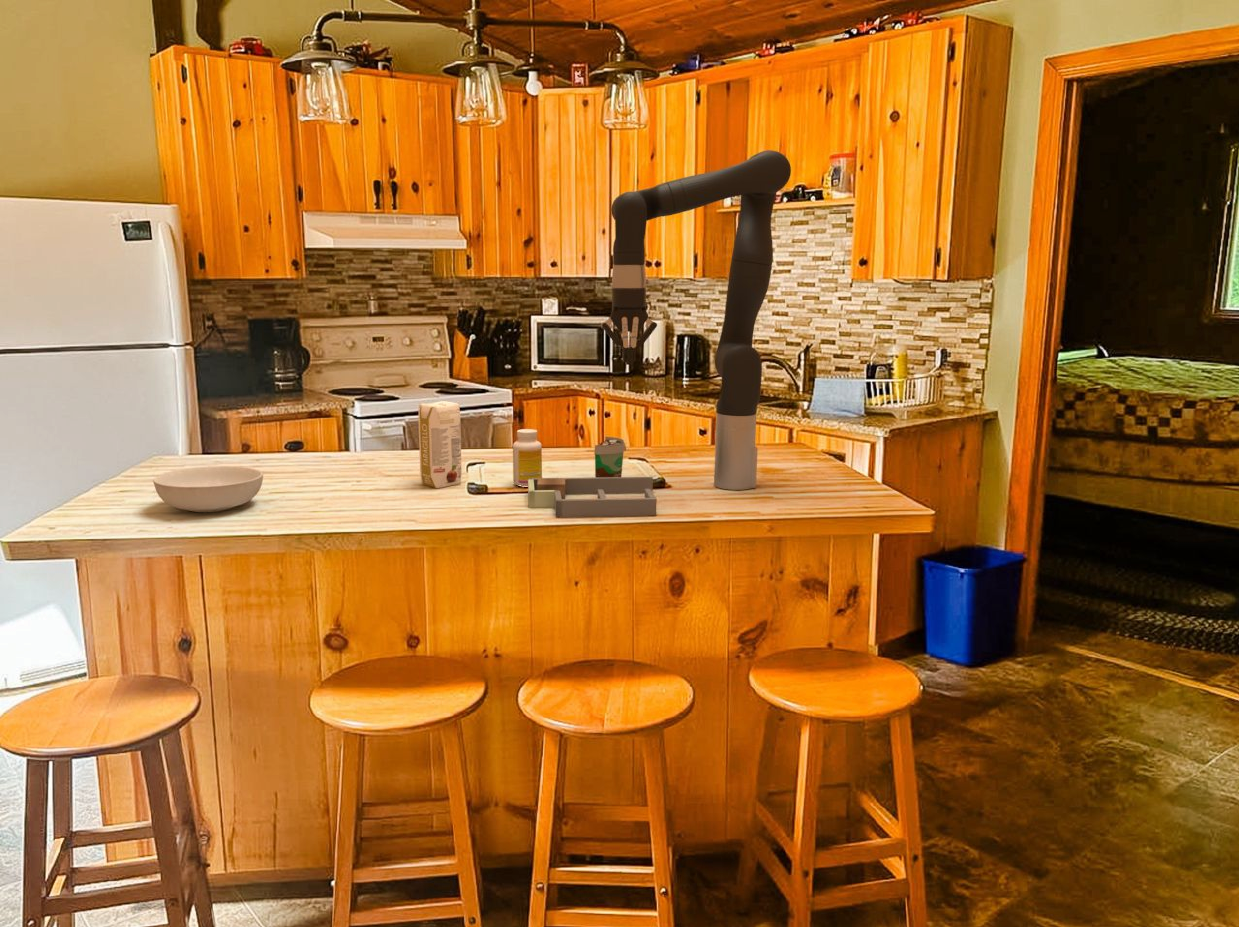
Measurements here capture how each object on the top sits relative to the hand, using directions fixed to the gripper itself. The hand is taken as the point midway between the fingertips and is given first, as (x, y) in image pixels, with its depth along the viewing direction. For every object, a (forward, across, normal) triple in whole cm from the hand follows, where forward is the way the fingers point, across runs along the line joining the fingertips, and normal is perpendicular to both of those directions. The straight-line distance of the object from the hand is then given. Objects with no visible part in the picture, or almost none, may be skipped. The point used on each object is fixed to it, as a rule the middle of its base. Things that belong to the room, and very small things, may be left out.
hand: (629, 364), depth 214 cm
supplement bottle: (+28, +23, -4) cm, 37 cm away
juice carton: (+28, +43, -7) cm, 52 cm away
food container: (+29, +3, -5) cm, 29 cm away
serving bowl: (+28, +89, +11) cm, 94 cm away
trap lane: (+28, +10, +14) cm, 33 cm away
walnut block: (+28, +18, +8) cm, 35 cm away
